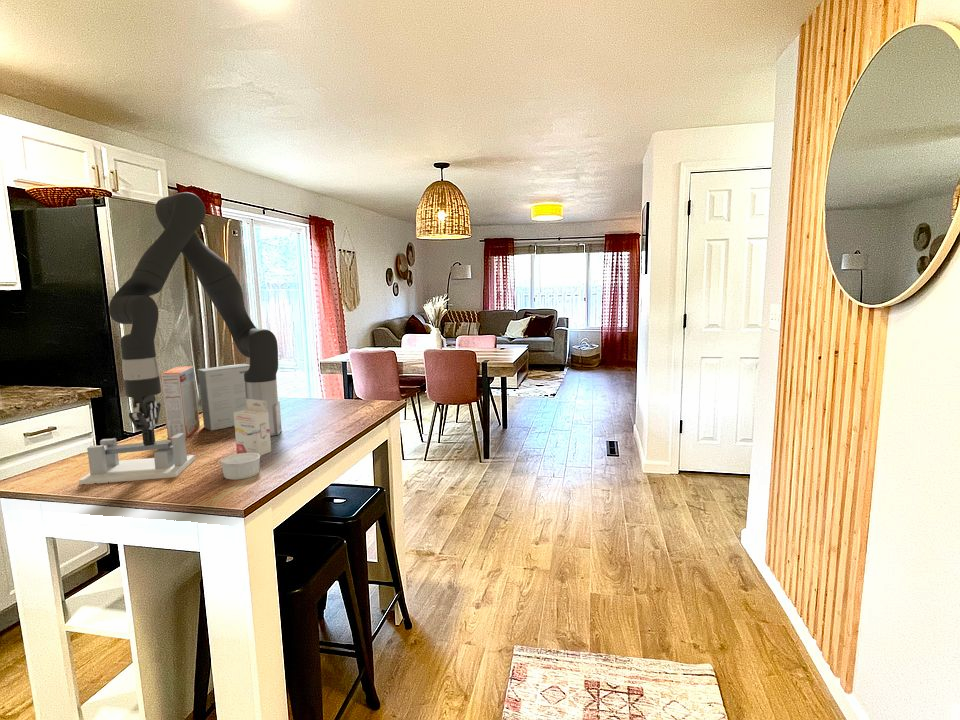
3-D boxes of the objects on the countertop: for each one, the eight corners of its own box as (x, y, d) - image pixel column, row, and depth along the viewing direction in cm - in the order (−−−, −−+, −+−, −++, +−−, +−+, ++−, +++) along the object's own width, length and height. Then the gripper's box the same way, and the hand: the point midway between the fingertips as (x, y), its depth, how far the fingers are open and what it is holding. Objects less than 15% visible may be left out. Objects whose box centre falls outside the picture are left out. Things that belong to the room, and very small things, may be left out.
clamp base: (195, 459, 141) (192, 428, 140) (176, 477, 128) (172, 442, 127) (108, 465, 137) (104, 433, 136) (79, 484, 124) (74, 449, 123)
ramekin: (235, 468, 134) (233, 451, 133) (268, 468, 133) (267, 452, 132) (214, 480, 125) (212, 463, 124) (249, 481, 124) (247, 464, 123)
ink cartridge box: (235, 453, 146) (231, 401, 144) (250, 448, 150) (246, 398, 148) (258, 457, 142) (253, 404, 140) (272, 451, 147) (268, 400, 145)
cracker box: (180, 428, 174) (174, 366, 172) (200, 427, 176) (194, 365, 173) (166, 440, 161) (159, 372, 158) (187, 438, 162) (181, 371, 159)
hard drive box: (250, 418, 186) (245, 363, 184) (258, 422, 181) (253, 365, 178) (202, 427, 176) (197, 368, 173) (209, 431, 170) (203, 370, 168)
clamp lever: (174, 446, 135) (172, 437, 135) (168, 450, 132) (167, 441, 131) (102, 453, 132) (101, 444, 132) (95, 457, 128) (93, 449, 128)
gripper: (146, 379, 124) (155, 450, 126) (168, 371, 137) (175, 435, 139) (111, 381, 123) (120, 453, 125) (136, 373, 135) (144, 438, 138)
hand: (149, 443), depth 132 cm, fingers closed
